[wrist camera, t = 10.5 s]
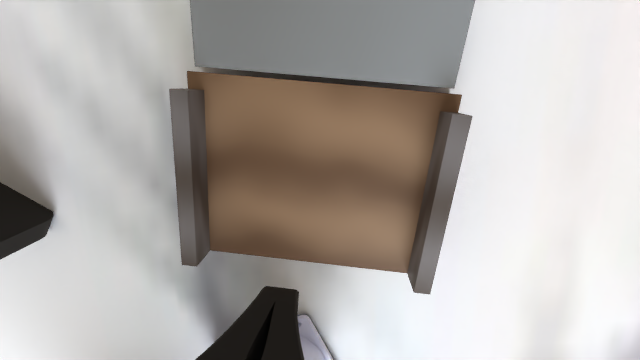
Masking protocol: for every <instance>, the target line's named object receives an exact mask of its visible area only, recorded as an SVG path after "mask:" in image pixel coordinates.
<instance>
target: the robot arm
mask: <svg viewBox="0 0 640 360" xmlns="http://www.w3.org/2000/svg"><path fill="white" fill-rule="evenodd" d="M298 297H299V292H298V291H297V290H294V289H286V288H278V287H270V286H265V287H264V288H263V289H262V290H261V292H260V293H259V294H258V296H257V297H256V298H255V299H254V301H253V302H252V303H251V304H250V305H249V307H248V308H247V309H246V310H245V311H244V312H243V314H242V315H241V316H240V317H239V318H238V319H237V320H236V321H235V322H234V323H233V325H232V326H231V327H230V328H229V329H228V330H227V331H226V332H225V333H224V334H223V335H222V336H221V337H220V338H219V339H218V340H217V341H216V342H215V343H213V344H212V345H211V346H210V347H209V348H208V349H207V350H206V351H205V352H204V353H202V354H201V355H200V356H199V357H198V358H197V359H195V360H333V358H332V356H331V354H330V353H329V351H328V349H327V347H326V346H325V344H324V342H323V340H322V339H321V337H320V335H319V333H318V332H317V330H316V328H315V326H314V325H313V323H312V321H311V319H310V318H309V317H308V316H307V315H300V316H297V311H298ZM298 322H300V323H298Z"/></svg>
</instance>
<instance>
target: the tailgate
mask: <svg viewBox="0 0 640 360" xmlns="http://www.w3.org/2000/svg"><path fill="white" fill-rule="evenodd" d="M474 3H475V0H190V7H191V20H192V33H193V46H194V59H195V66H198V67H210V68H221V69H233V70H245V71H256V72H268V73H280V74H291V75H303V76H315V77H326V78H338V79H350V80H361V81H373V82H385V83H397V84H408V85H420V86H432V87H443V88H454V87H455V83H456V78H457V74H458V70H459V66H460V62H461V57H462V53H463V49H464V45H465V41H466V36H467V32H468V28H469V24H470V20H471V15H472V11H473V7H474Z"/></svg>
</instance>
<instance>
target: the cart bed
mask: <svg viewBox="0 0 640 360" xmlns="http://www.w3.org/2000/svg"><path fill="white" fill-rule="evenodd" d="M187 78H188V89H169V91H170V105H171V119H172V133H173V147H174V161H175V175H176V189H177V203H178V217H179V231H180V244H181V258H182V265H189V266H198V264H199V263H200V262H201V261H202V260H203V258H204V257H205V256H206V255H207V253H208V252H209V251H210V250H212V251H221V252H229V253H238V254H247V255H255V256H264V257H272V258H281V259H290V260H298V261H307V262H315V263H324V264H333V265H341V266H350V267H358V268H367V269H376V270H384V271H393V272H401V273H407V274H408V277H409V280H410V283H411V285H412V288H413V291H414V292H415V293H423V294H430V292H431V288H432V284H433V279H434V275H435V271H436V267H437V263H438V258H439V254H440V250H441V246H442V242H443V237H444V233H445V229H446V225H447V221H448V216H449V212H450V208H451V204H452V200H453V195H454V191H455V187H456V183H457V179H458V174H459V170H460V166H461V162H462V158H463V153H464V149H465V145H466V141H467V137H468V132H469V128H470V124H471V120H472V116H470V115H465V114H461V113H458V110H459V106H460V101H461V97H462V95H458V94H447V93H435V92H424V91H412V90H401V89H389V88H378V87H366V86H354V85H343V84H331V83H320V82H308V81H297V80H285V79H274V78H262V77H250V76H239V75H227V74H216V73H204V72H193V71H187Z"/></svg>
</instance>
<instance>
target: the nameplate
mask: <svg viewBox="0 0 640 360" xmlns="http://www.w3.org/2000/svg"><path fill="white" fill-rule="evenodd" d="M52 217H53V212H52V211H51V210H49V209H47V208H45V207H44V206H42V205H40V204H38V203H36V202H35V201H33V200H31V199H29V198H27V197H26V196H24V195H22V194H20V193H18V192H17V191H15V190H13V189H11V188H9V187H8V186H6V185H4V184H2V183H0V259H2V258H4V257H6V256H8V255H10V254H12V253H14V252H16V251H18V250H20V249H22V248H24V247H26V246H28V245H30V244H32V243H34V242H36V241H38V240H40V239H42V238H43V237H45V236H46V234H47V232H48V229H49V226H50V223H51V220H52Z"/></svg>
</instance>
